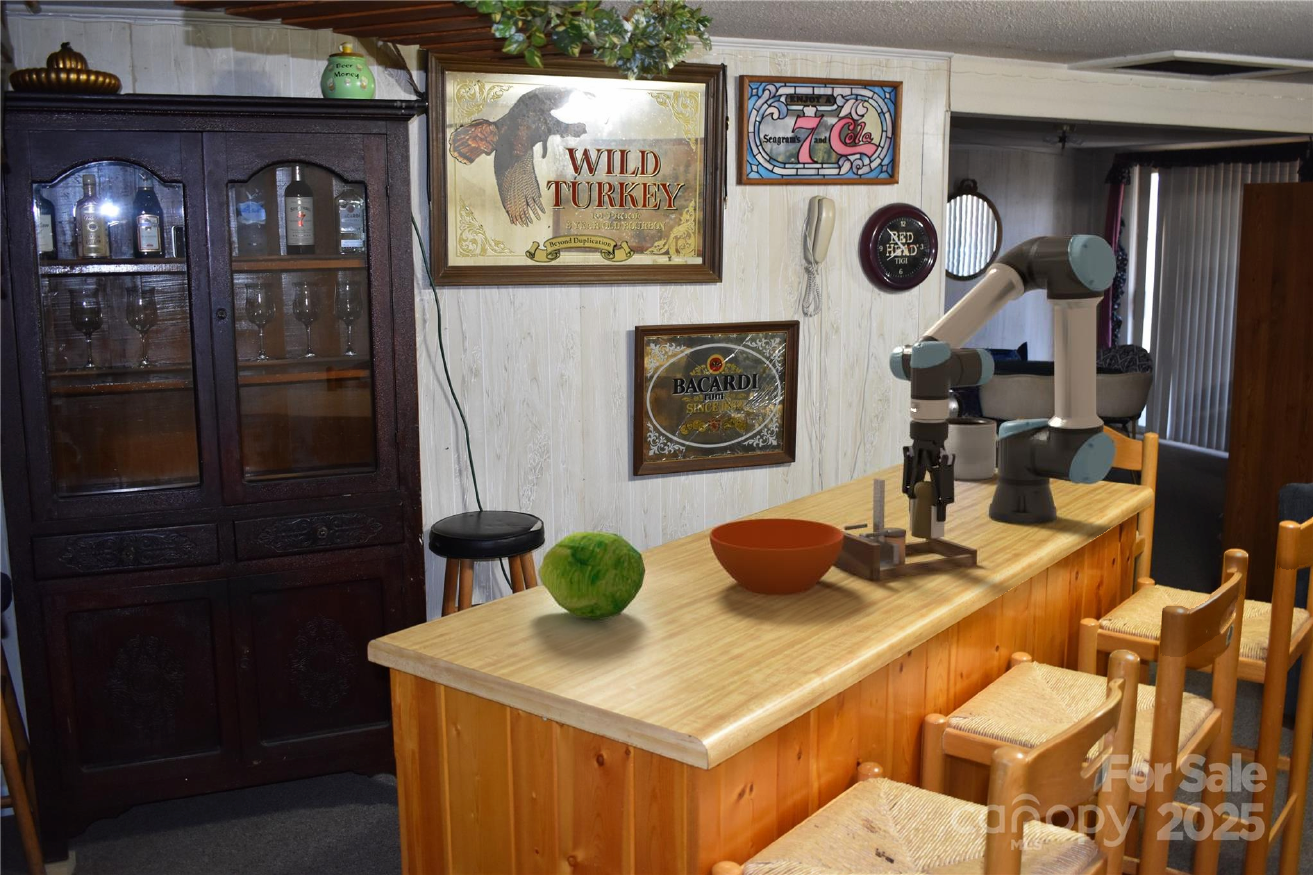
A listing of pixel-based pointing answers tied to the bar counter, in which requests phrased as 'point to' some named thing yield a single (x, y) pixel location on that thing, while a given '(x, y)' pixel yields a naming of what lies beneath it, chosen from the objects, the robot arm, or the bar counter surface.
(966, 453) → the planter
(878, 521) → the pusher
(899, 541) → the terracotta spice jar
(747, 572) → the bowl
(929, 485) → the pepper mill
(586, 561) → the lettuce
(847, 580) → the bar counter surface
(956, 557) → the lane
